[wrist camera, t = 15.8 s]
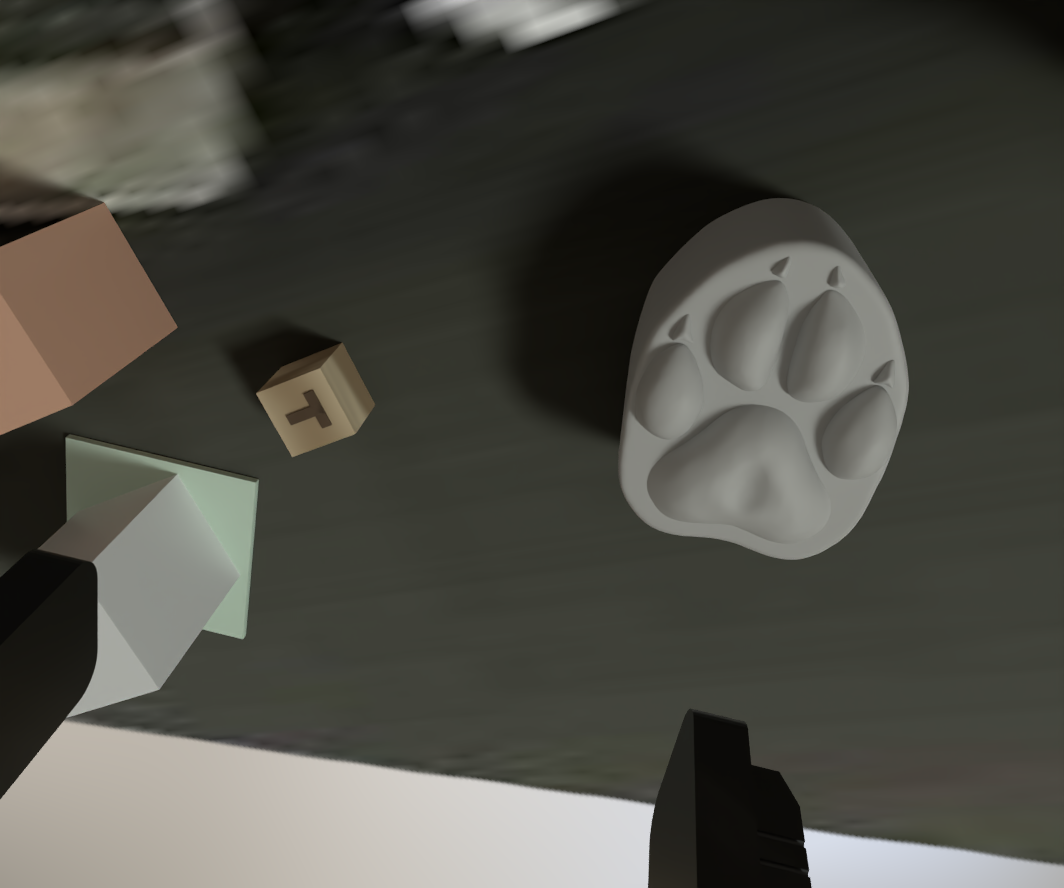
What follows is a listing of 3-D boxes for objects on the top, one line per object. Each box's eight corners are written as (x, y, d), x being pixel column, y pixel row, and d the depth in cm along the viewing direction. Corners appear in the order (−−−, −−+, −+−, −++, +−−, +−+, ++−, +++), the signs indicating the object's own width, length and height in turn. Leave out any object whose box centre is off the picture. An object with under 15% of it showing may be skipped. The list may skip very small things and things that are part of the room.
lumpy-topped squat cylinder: (608, 445, 48) (595, 538, 40) (674, 173, 42) (673, 221, 35) (823, 493, 48) (851, 597, 40) (919, 225, 42) (974, 286, 34)
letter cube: (342, 342, 48) (319, 369, 45) (375, 404, 49) (354, 434, 46) (282, 366, 49) (255, 394, 46) (315, 426, 50) (291, 457, 47)
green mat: (258, 479, 51) (255, 482, 51) (245, 634, 56) (242, 639, 56) (69, 434, 52) (65, 437, 51) (71, 592, 56) (68, 596, 56)
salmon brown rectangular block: (104, 202, 46) (-24, 256, 38) (177, 327, 48) (72, 404, 40) (-3, 254, 48) (-147, 317, 40) (73, 372, 50) (-49, 455, 42)
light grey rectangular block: (177, 473, 51) (80, 574, 43) (240, 575, 54) (159, 689, 45) (78, 510, 53) (-34, 614, 45) (143, 607, 55) (48, 723, 47)
